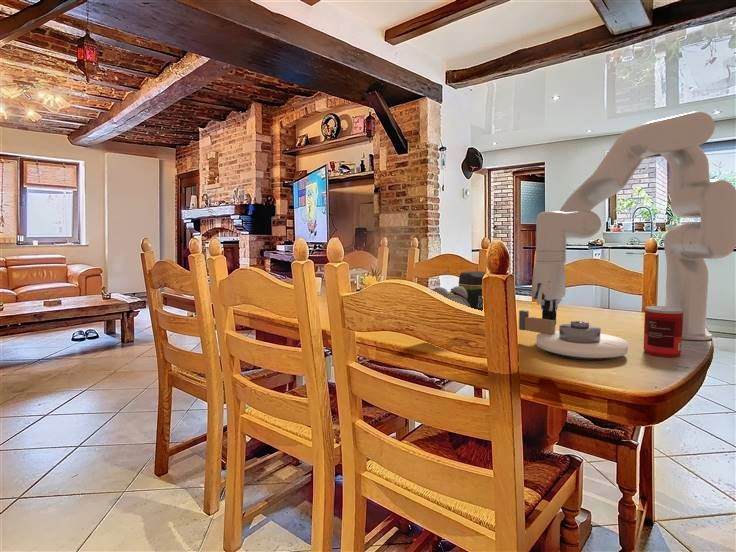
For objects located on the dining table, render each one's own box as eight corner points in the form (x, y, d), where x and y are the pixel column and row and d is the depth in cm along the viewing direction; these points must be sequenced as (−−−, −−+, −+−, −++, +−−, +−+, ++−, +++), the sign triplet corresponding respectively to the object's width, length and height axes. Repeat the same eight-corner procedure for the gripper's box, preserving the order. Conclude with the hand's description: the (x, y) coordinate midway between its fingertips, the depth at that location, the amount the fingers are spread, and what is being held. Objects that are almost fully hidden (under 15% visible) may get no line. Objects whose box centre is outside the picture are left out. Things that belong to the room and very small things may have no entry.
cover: (570, 334, 115) (571, 317, 115) (607, 340, 108) (607, 322, 108) (551, 339, 110) (552, 321, 109) (588, 345, 103) (589, 327, 102)
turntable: (539, 331, 129) (540, 306, 128) (641, 348, 108) (643, 319, 107) (497, 341, 116) (497, 314, 116) (603, 362, 96) (604, 330, 95)
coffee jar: (471, 338, 126) (471, 272, 125) (453, 333, 133) (453, 271, 132) (497, 335, 131) (498, 271, 129) (478, 330, 138) (479, 269, 136)
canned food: (669, 349, 112) (671, 305, 111) (688, 358, 104) (691, 311, 103) (636, 349, 113) (638, 305, 112) (653, 357, 105) (655, 310, 104)
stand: (566, 343, 120) (566, 339, 119) (622, 353, 109) (623, 349, 109) (538, 351, 111) (538, 348, 111) (596, 363, 100) (596, 359, 100)
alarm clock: (434, 345, 119) (434, 288, 118) (423, 339, 126) (423, 286, 124) (472, 341, 123) (473, 286, 122) (459, 336, 129) (460, 284, 128)
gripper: (551, 256, 129) (550, 319, 131) (522, 258, 120) (521, 326, 121) (577, 257, 123) (575, 323, 125) (549, 259, 114) (547, 330, 115)
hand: (548, 324), depth 123 cm, fingers closed
